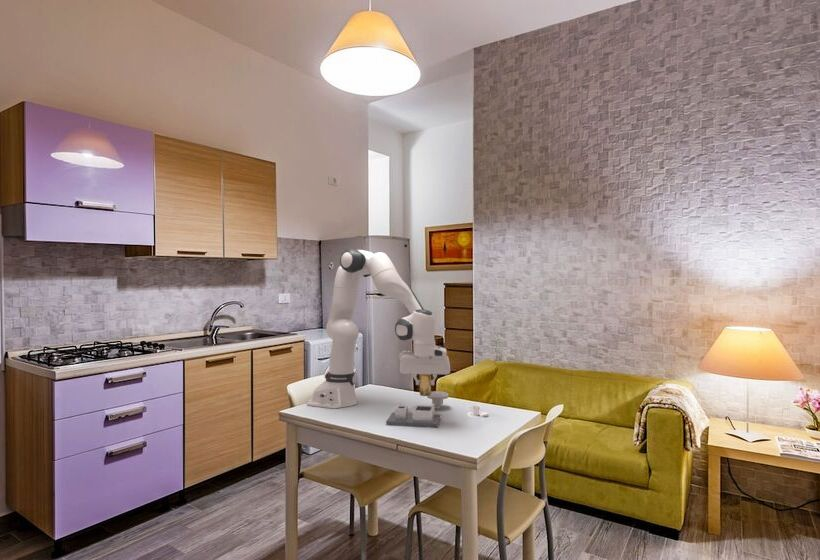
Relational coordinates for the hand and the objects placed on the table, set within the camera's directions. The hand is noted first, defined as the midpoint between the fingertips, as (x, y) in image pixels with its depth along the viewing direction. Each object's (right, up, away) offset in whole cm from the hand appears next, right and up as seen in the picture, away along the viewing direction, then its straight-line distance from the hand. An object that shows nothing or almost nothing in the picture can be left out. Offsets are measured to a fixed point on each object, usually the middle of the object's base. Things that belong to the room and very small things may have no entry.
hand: (425, 385), depth 183 cm
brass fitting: (0, -4, 0) cm, 4 cm away
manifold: (-5, -15, 0) cm, 15 cm away
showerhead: (+6, -15, +20) cm, 25 cm away
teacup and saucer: (+22, -16, +7) cm, 28 cm away
